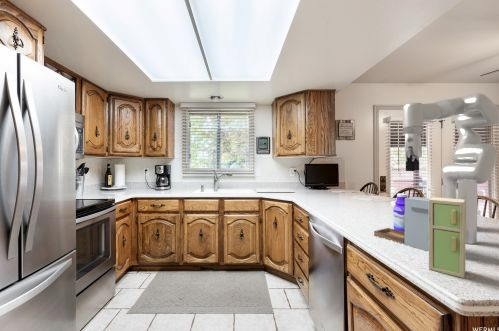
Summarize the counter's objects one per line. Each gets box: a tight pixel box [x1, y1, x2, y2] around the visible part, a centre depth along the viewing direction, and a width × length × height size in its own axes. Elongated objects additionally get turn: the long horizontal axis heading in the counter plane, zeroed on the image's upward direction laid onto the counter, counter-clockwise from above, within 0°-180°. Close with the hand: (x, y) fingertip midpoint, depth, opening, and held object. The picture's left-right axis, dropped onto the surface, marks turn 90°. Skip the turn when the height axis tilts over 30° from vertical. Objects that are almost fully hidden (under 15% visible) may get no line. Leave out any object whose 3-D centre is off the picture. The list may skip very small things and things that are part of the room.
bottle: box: [392, 193, 409, 232], centre depth 108 cm, size 7×6×17 cm
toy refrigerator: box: [428, 196, 466, 279], centre depth 69 cm, size 8×7×21 cm
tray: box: [373, 227, 405, 244], centre depth 99 cm, size 10×11×2 cm
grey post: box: [455, 179, 479, 245], centre depth 94 cm, size 6×6×25 cm
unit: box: [404, 196, 431, 252], centre depth 87 cm, size 9×12×18 cm
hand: (412, 170), depth 103 cm, fingers open, 9 cm apart
